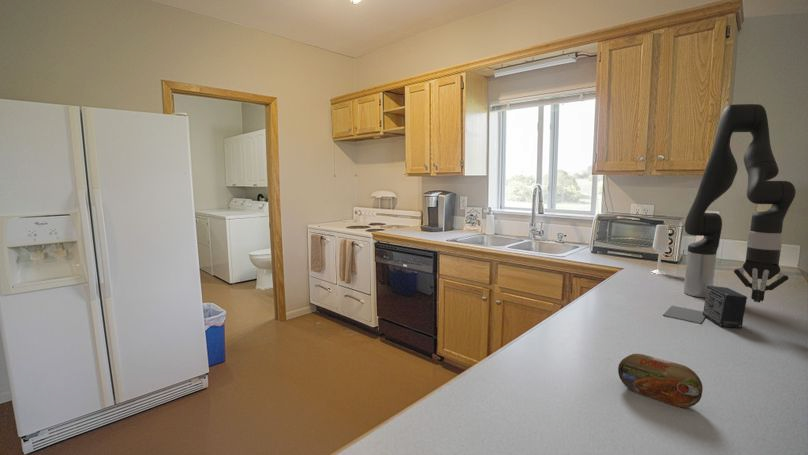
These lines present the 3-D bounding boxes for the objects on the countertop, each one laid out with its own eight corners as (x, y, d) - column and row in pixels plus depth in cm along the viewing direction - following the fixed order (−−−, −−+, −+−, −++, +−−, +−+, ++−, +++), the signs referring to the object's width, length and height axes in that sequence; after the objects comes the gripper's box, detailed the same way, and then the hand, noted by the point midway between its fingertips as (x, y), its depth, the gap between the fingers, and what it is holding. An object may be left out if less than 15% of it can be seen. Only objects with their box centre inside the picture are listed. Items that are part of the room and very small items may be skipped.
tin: (616, 386, 87) (619, 351, 86) (620, 381, 89) (623, 346, 88) (699, 415, 76) (703, 375, 75) (701, 408, 79) (706, 369, 78)
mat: (671, 306, 141) (672, 305, 141) (707, 313, 134) (707, 312, 134) (662, 315, 132) (662, 314, 132) (701, 323, 124) (701, 322, 124)
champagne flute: (647, 271, 194) (651, 224, 191) (659, 271, 195) (663, 224, 192) (657, 275, 187) (661, 226, 184) (669, 274, 188) (674, 226, 185)
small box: (743, 328, 120) (749, 296, 119) (720, 326, 122) (725, 294, 120) (723, 316, 130) (728, 286, 129) (701, 314, 132) (706, 285, 130)
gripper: (794, 247, 115) (787, 303, 118) (736, 242, 125) (730, 294, 127) (794, 251, 110) (786, 309, 112) (734, 245, 119) (728, 299, 122)
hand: (757, 301), depth 120 cm, fingers closed
